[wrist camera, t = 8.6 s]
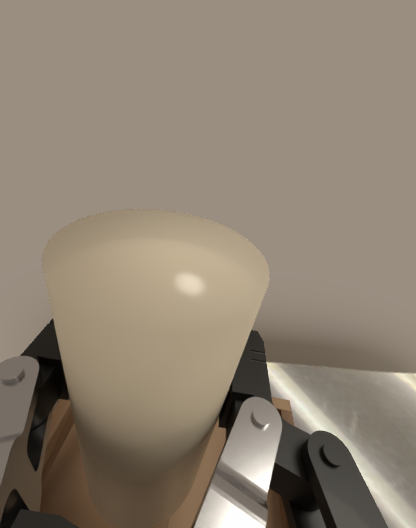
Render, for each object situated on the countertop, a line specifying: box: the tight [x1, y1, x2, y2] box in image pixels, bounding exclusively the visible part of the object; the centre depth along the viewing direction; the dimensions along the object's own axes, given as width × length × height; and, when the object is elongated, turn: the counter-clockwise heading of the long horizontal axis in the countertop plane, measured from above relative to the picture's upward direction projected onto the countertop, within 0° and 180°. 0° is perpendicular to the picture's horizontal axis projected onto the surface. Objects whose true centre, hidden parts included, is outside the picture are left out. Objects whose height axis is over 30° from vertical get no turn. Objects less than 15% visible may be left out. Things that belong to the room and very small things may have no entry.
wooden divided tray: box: [39, 397, 294, 528], centre depth 20 cm, size 20×12×4 cm, turn 85°
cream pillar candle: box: [42, 209, 270, 528], centre depth 10 cm, size 5×5×12 cm
